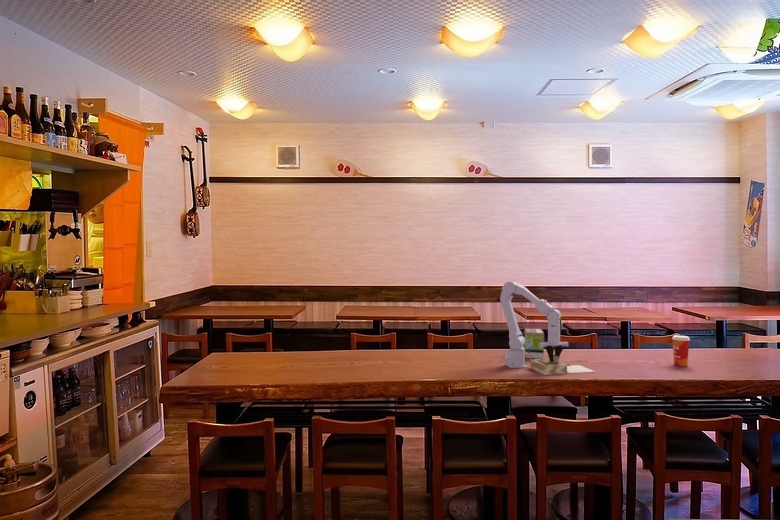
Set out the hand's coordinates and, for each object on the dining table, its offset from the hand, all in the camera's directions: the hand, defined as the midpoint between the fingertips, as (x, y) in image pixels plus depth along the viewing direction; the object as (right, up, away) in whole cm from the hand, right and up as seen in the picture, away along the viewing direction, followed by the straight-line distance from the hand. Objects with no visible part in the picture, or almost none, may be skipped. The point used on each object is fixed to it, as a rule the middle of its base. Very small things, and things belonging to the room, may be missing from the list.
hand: (553, 360), depth 249 cm
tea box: (0, -5, +35) cm, 35 cm away
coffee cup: (+70, -5, +12) cm, 71 cm away
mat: (+11, -5, +2) cm, 12 cm away
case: (-3, -5, 0) cm, 6 cm away
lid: (0, -1, 0) cm, 1 cm away
